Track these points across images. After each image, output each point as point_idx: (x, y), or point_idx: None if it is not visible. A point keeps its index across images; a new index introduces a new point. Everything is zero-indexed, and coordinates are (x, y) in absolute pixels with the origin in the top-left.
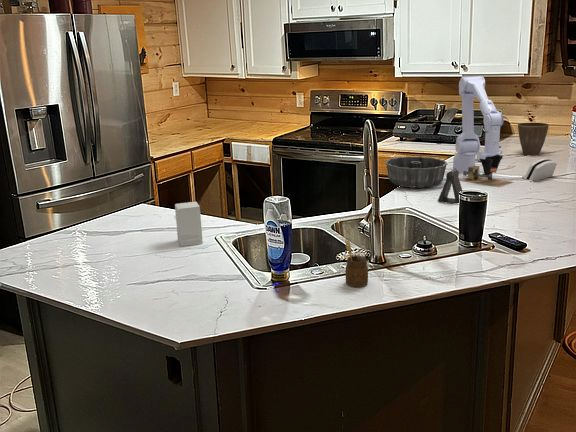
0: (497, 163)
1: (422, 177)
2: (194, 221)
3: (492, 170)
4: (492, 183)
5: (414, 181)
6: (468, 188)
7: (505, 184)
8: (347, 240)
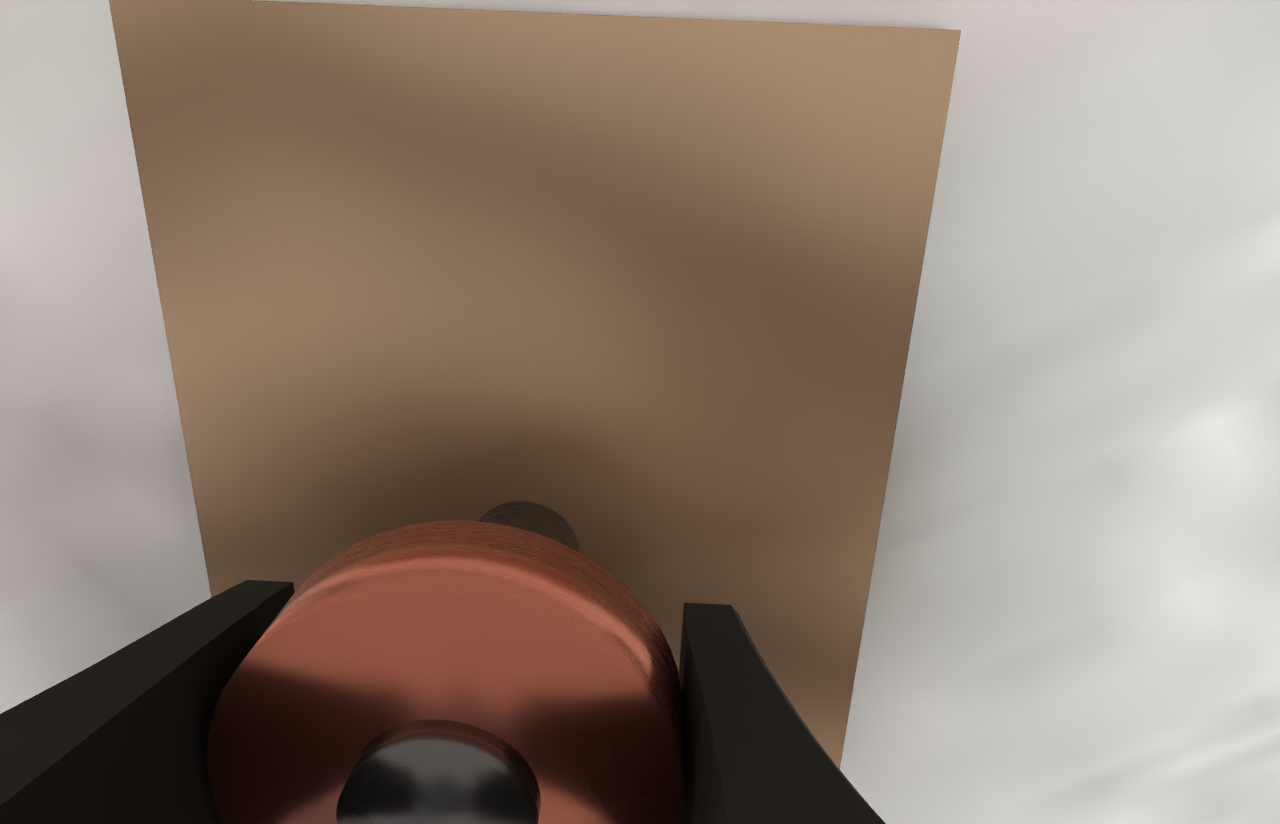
0: (39, 799)
1: None
2: None
3: (606, 621)
4: (646, 396)
5: None
6: (1210, 632)
7: (539, 60)
8: None
